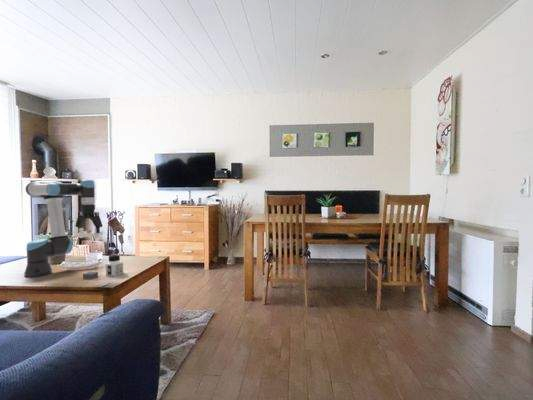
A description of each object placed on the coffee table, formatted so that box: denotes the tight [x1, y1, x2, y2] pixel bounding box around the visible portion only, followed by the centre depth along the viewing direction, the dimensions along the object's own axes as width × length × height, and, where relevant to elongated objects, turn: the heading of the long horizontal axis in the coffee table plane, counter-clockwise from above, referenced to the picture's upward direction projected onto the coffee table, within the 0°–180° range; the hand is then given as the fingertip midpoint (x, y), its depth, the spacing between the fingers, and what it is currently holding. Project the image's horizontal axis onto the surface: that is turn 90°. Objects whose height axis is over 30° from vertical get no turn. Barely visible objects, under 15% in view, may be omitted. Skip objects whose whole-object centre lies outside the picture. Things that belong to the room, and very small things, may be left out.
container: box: [105, 254, 124, 277], centre depth 205 cm, size 8×8×13 cm
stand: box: [82, 271, 99, 280], centre depth 197 cm, size 6×6×3 cm
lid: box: [74, 229, 104, 238], centre depth 196 cm, size 11×11×4 cm
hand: (89, 238), depth 196 cm, fingers closed on lid, 11 cm apart
